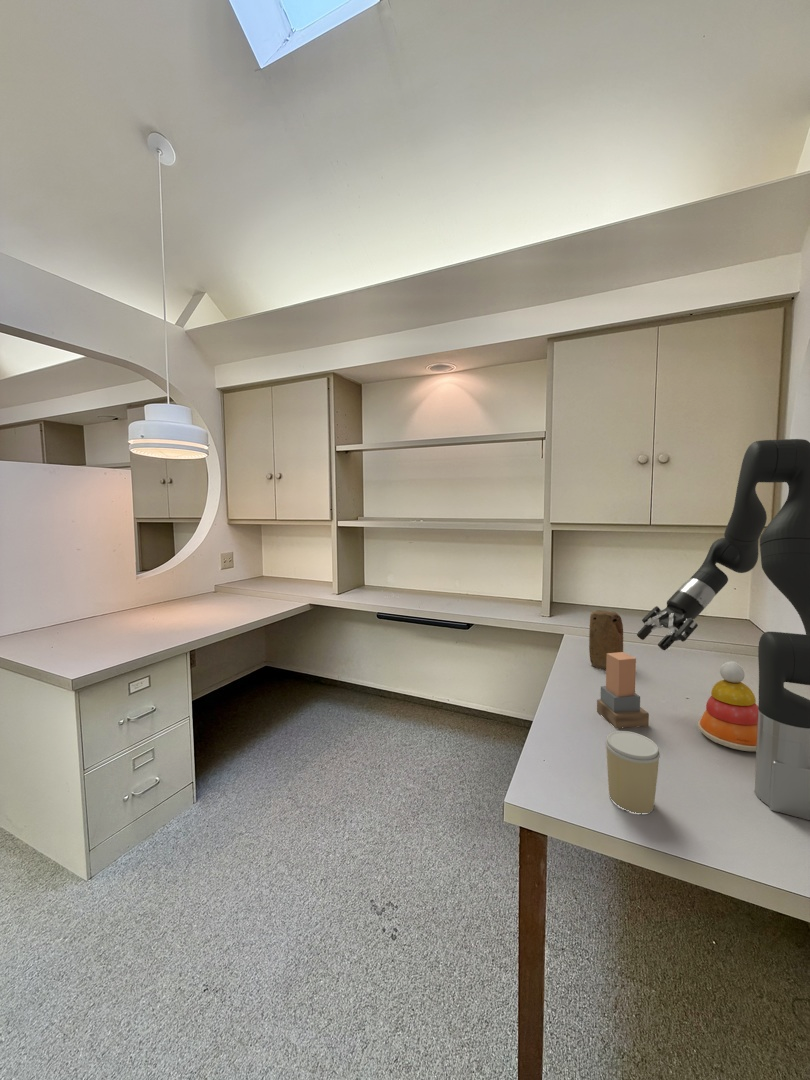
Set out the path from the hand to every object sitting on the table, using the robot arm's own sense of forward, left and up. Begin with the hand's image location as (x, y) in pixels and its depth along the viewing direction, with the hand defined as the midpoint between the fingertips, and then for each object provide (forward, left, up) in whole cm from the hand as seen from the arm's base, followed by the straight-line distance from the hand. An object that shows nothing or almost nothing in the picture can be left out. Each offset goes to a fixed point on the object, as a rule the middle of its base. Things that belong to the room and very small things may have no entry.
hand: (649, 642), depth 112 cm
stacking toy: (-3, -18, -21) cm, 28 cm away
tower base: (-5, +6, -21) cm, 23 cm away
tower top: (-5, +7, -17) cm, 19 cm away
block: (+33, +13, -21) cm, 41 cm away
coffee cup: (-39, +3, -21) cm, 44 cm away
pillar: (-5, +7, -13) cm, 16 cm away
